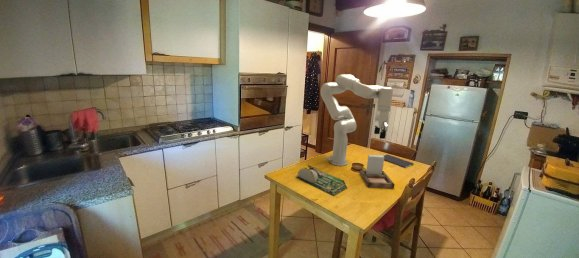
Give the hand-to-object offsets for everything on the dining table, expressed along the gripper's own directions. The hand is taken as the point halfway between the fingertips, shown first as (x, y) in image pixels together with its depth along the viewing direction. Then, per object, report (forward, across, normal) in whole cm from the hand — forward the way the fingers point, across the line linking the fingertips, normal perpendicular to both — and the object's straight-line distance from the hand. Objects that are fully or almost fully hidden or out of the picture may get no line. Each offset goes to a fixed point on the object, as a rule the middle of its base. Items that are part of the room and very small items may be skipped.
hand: (379, 136), depth 145 cm
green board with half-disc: (+29, +6, -34) cm, 45 cm away
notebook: (+29, -31, +27) cm, 50 cm away
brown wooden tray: (+28, +5, 0) cm, 28 cm away
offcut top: (+27, +8, 0) cm, 28 cm away
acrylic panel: (+28, 0, 0) cm, 28 cm away
